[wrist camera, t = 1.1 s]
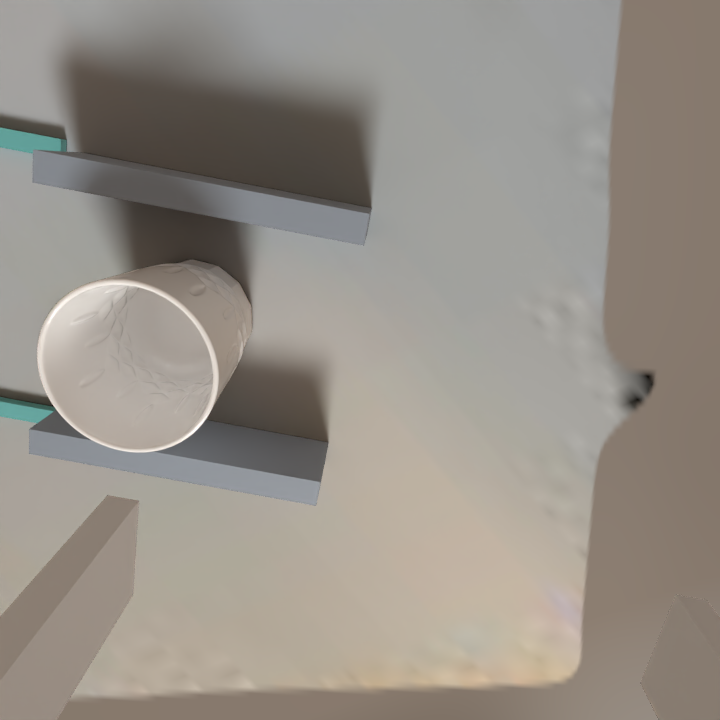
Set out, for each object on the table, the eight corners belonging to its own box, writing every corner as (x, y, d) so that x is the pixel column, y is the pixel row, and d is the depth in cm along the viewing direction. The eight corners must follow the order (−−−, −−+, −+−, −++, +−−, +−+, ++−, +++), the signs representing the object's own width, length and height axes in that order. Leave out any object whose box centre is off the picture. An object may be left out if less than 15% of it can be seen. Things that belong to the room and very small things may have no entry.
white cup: (289, 308, 35) (254, 360, 25) (212, 403, 37) (152, 485, 27) (179, 220, 33) (98, 239, 24) (105, 323, 35) (3, 379, 26)
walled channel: (74, 417, 37) (29, 453, 32) (84, 153, 32) (32, 149, 28) (324, 463, 38) (315, 505, 33) (371, 208, 33) (369, 214, 28)
